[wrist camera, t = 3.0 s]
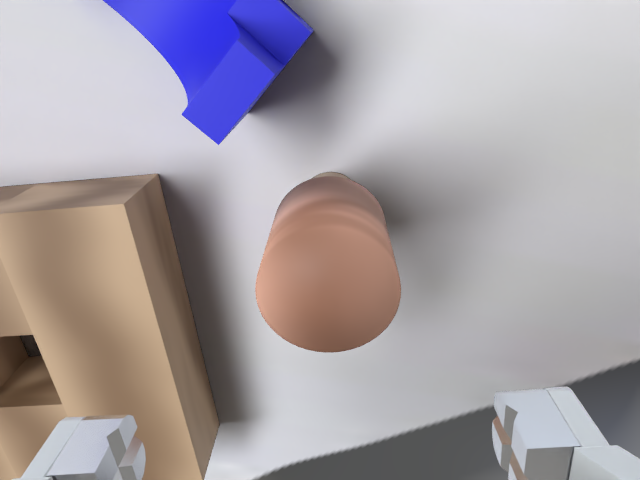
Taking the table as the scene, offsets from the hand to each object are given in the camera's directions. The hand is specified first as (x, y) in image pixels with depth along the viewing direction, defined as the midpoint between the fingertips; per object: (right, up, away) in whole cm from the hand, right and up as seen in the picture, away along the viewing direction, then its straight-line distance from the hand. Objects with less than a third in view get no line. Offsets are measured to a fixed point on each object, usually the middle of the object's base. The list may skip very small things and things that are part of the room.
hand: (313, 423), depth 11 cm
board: (-15, -1, +16) cm, 21 cm away
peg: (+1, +6, +12) cm, 13 cm away
